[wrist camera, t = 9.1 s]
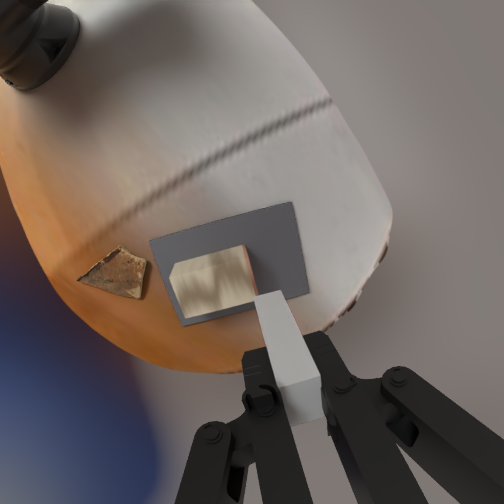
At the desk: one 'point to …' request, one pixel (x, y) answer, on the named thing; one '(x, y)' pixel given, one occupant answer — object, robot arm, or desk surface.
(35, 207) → the desk surface
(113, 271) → the shard
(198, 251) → the rubber mat
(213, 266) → the birch block
